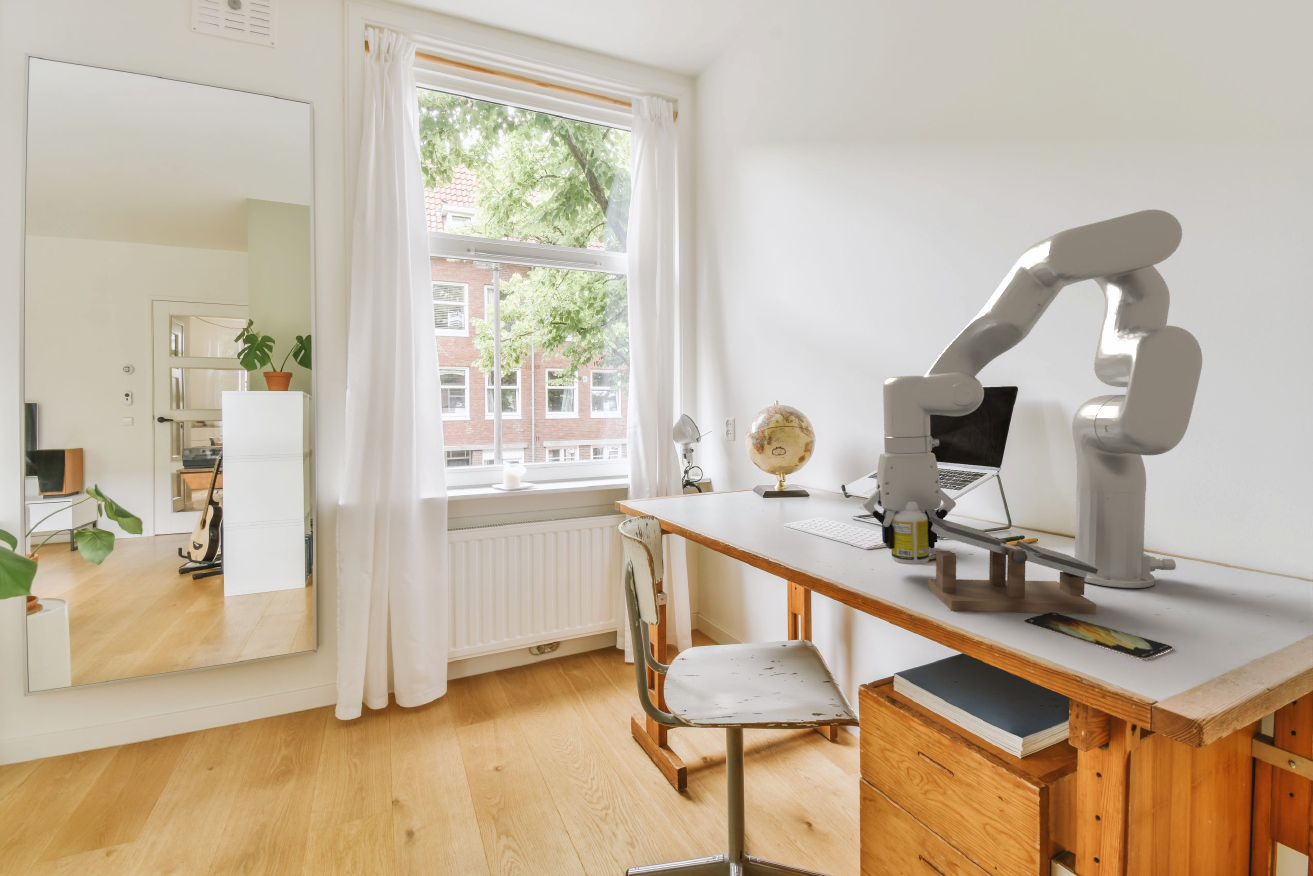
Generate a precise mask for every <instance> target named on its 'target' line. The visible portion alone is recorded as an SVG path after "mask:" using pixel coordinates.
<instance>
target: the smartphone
mask: <svg viewBox="0 0 1313 876" xmlns="http://www.w3.org/2000/svg"><path fill="white" fill-rule="evenodd" d="M1023 621H1024V623H1026V624H1028V625H1031V626H1034V627H1038V628H1041V629H1044V630H1047V631H1051V632H1053V633H1057V634H1060V635H1062V636H1066V637H1067V638H1068V637H1069V638H1072V639H1073V640H1077V641H1081V642H1083V643H1087V642H1088V643H1087V644H1090V643H1091V644H1090V645H1093V644H1094V646H1096V645H1098V646H1097V647H1099V646H1101V647H1100V648H1102V647H1104V648H1103V649H1105V648H1108V649H1110V650H1109V651H1111V650H1114V651H1117V652H1116V653H1118V652H1120V653H1119V654H1121V653H1124V654H1126V655H1125V656H1127V655H1129V656H1128V657H1130V656H1133V657H1134V658H1133V657H1132V658H1133V659H1136V658H1139V659H1142V660H1141V661H1147V660H1146V659H1150V658H1153V657H1154V656H1156V655H1158V654H1161V653H1164V652H1166V651H1168V650H1171V649H1173V648H1174V647H1173V646H1171V645H1169V644H1166V643H1163V642H1159V641H1156V640H1152V639H1149V638H1145V637H1142V636H1138V635H1134V634H1131V633H1128V632H1123V631H1120V630H1117V629H1113V628H1110V627H1106V626H1103V625H1099V624H1096V623H1092V622H1089V621H1086V620H1081V619H1079V618H1075V617H1071V616H1067V615H1065V614H1062V613H1043V614H1040V615H1035V616H1033V617H1029V618H1025V619H1024V620H1023ZM1108 649H1107V650H1108ZM1173 650H1174V649H1173ZM1114 651H1113V652H1114ZM1124 654H1123V655H1124ZM1139 659H1138V660H1139ZM1153 659H1154V658H1153ZM1150 660H1151V659H1150Z"/></svg>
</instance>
